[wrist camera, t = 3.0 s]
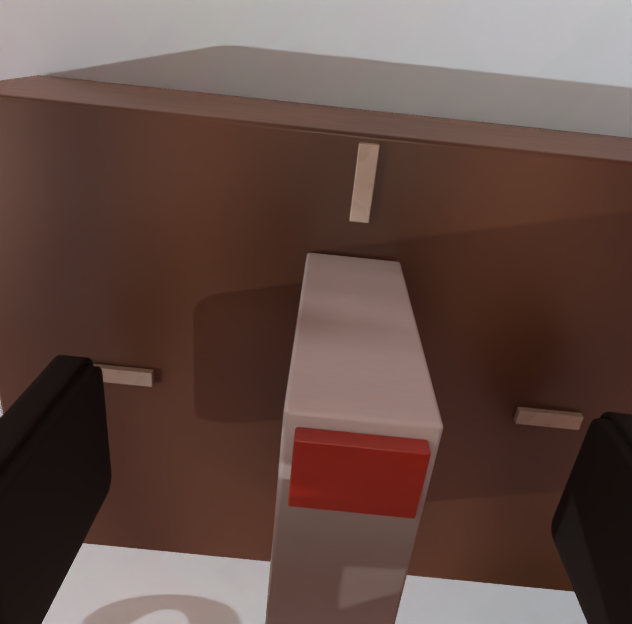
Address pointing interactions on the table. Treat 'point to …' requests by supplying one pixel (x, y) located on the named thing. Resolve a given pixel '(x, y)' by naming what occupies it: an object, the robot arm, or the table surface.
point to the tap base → (285, 291)
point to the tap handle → (351, 447)
